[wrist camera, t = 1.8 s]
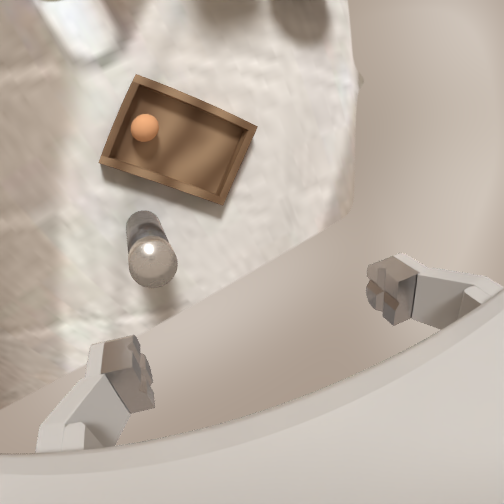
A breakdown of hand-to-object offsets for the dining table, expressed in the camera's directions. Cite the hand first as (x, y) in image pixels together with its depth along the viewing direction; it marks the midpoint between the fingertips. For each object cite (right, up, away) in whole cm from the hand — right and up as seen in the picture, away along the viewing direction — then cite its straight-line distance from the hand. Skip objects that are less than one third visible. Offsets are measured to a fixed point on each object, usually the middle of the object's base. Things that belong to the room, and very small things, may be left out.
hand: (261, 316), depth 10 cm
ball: (-14, +18, +27) cm, 36 cm away
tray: (-10, +17, +30) cm, 36 cm away
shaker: (-16, +5, +33) cm, 37 cm away
